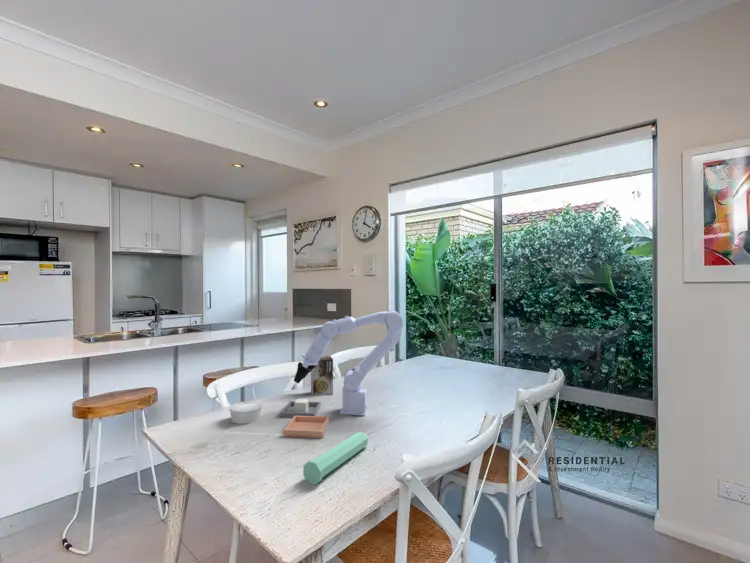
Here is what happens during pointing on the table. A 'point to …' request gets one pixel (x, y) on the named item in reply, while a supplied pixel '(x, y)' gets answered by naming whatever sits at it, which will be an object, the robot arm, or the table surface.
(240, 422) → the ramekin
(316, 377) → the coffee box
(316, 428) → the terracotta tray
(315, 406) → the grey tray
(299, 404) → the white cube
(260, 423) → the table surface
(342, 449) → the mint green octagonal prism
